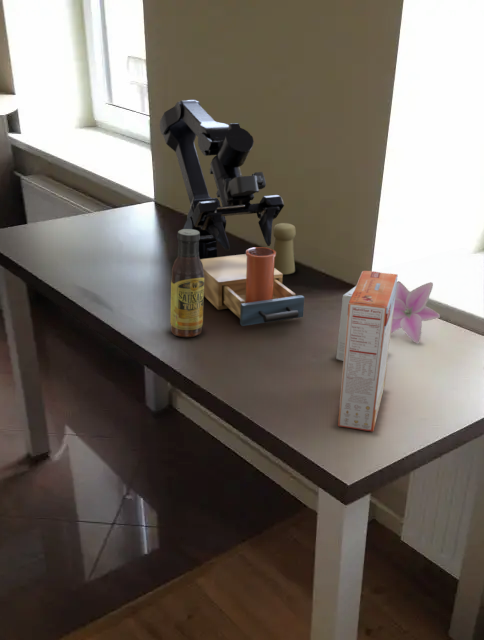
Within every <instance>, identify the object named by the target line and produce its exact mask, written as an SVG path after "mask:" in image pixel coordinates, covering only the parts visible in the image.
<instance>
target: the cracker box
mask: <svg viewBox="0 0 484 640" xmlns="http://www.w3.org/2000/svg"><path fill="white" fill-rule="evenodd" d="M398 277H399V276H398V274H397V273H389V272H388V273H387V272H379V271H373V270H362V271H361V273H360V275H359V278H358V281H357V283H356V285H355V286H356V288H355V290H354V292H353V294H352V296H351V299H350V301H349V304H348V316H347V326H346V339H345V350H344V361H343V362H342V374H341V384H340V395H339V396H340V398H339V410H338V418H337V419H338V422H337V426H338V427H340V428H347V429H353V430H360V431H366V432H374V430H375V427H376V423H377V419H378V415H379V411H380V407H381V402H382V398H383V395H384V391H385V384H386V383H385V382H386V376H387V375H386V374H387V368H388V367H387V366H388V358H389V351H390V350H389V349H390V343H391V335H392V333H391V327H392V319H393V311H394V303H395V295H396V286H397V282H398Z"/></svg>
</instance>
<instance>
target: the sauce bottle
mask: <svg viewBox="0 0 484 640" xmlns="http://www.w3.org/2000/svg"><path fill="white" fill-rule="evenodd" d="M176 238H177V241H178V248H177V249H178V250H177V257H176V258H175V260H174V261H173V265H172V267H171V279H170V319H169V321H170V325H171V326H170V331H171V333H172V334H173V335H174V336H176V337H181V338H193V337H196V336H198V335H199V336H200V334H201V333H202V328H203V324H204V298H205V296H204V272H203V264H202V262H201V260H200V258H199V252H198V247H199V246H198V245H199V240H200V232H199V231H197V230H193V229H183V228H182V229H179V230H178V231H177V236H176Z"/></svg>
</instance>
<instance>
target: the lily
mask: <svg viewBox="0 0 484 640" xmlns="http://www.w3.org/2000/svg"><path fill="white" fill-rule="evenodd" d="M433 287H434V282H426V283H424V284H421V285H420V286H417V287H416V288H414V289H412V290H411V291H410V290H409V289H408V288H407V287H406V286H405V284H404V283H402V282H401V281H399V280H397V286H396V295H395V303H394V311H393V319H392V327H391V334H393V333H396V332H397V331H399V330H401V329H402V331H403V332H404V334H405V335H407V337H408V338H409V339H410V340H411V341H412V342H413V343H415V344H417V345H418V344H419V343H420V341H421V335H422V327H423V322H426V321H431V320H436V319H439V318H440V317H441V315H440V314H439V313H438V311H435V310H434V309H432V308H431V307H429V306H427V303H428V301H429V299H430V296H431V293H432V290H433Z"/></svg>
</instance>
